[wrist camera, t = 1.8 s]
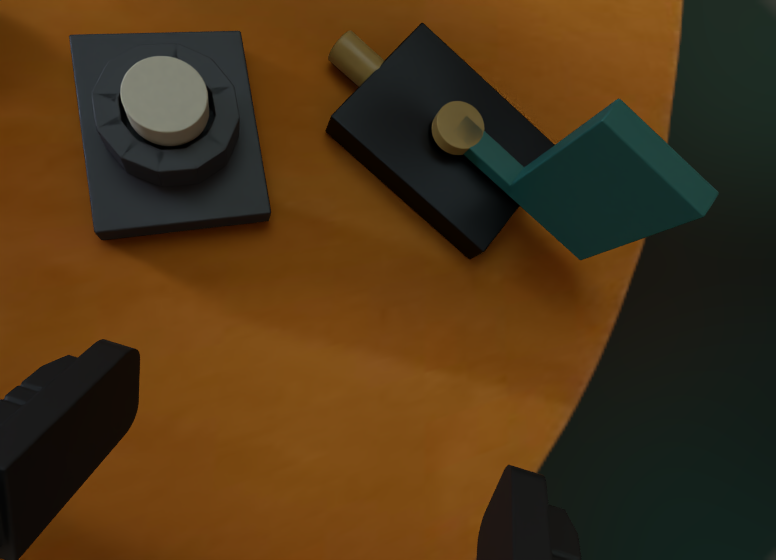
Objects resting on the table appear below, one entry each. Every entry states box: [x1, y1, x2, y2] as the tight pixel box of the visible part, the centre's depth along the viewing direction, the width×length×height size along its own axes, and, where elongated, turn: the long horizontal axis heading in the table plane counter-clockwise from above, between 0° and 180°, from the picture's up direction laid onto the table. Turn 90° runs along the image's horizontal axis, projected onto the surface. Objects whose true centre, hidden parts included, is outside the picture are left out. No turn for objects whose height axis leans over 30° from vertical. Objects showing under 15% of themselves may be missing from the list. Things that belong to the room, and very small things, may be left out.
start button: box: [120, 56, 209, 146], centre depth 29 cm, size 4×4×2 cm
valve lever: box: [432, 99, 719, 260], centre depth 31 cm, size 12×3×10 cm, turn 51°
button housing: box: [69, 31, 271, 240], centre depth 31 cm, size 11×9×4 cm
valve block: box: [326, 23, 554, 259], centre depth 36 cm, size 15×9×2 cm, turn 51°
